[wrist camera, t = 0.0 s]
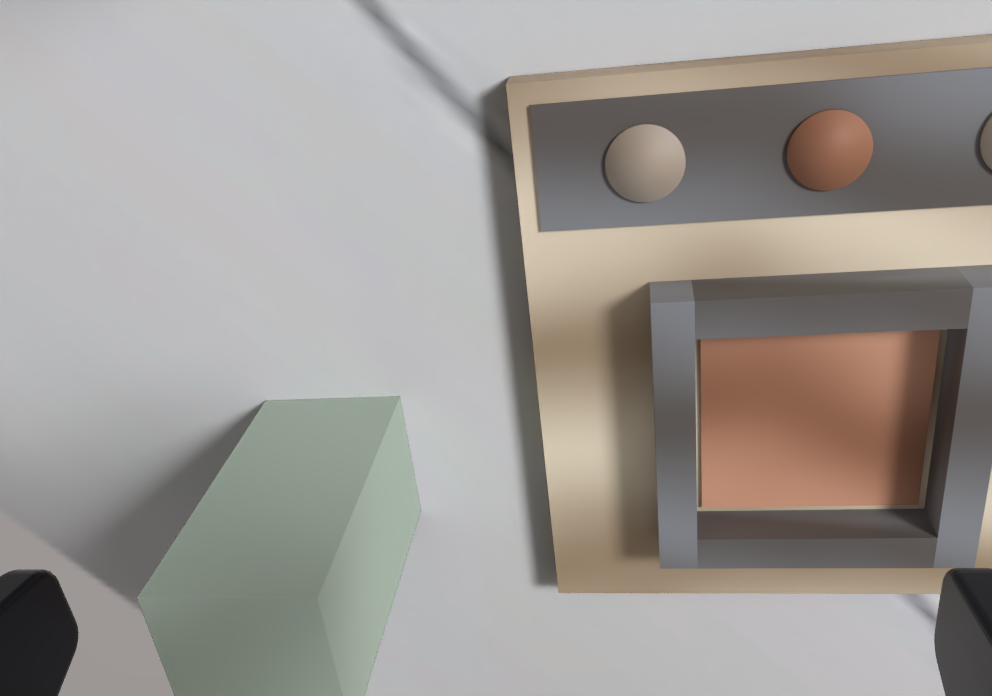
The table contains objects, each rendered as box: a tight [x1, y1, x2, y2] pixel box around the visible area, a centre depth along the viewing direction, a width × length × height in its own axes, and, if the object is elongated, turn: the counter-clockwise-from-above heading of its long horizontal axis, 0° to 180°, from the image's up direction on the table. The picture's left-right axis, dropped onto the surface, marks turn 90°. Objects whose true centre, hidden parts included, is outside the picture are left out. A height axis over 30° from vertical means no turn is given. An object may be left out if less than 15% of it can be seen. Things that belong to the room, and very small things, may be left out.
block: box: [137, 396, 421, 696], centre depth 23 cm, size 4×4×8 cm
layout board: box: [506, 34, 992, 594], centre depth 23 cm, size 15×13×2 cm
